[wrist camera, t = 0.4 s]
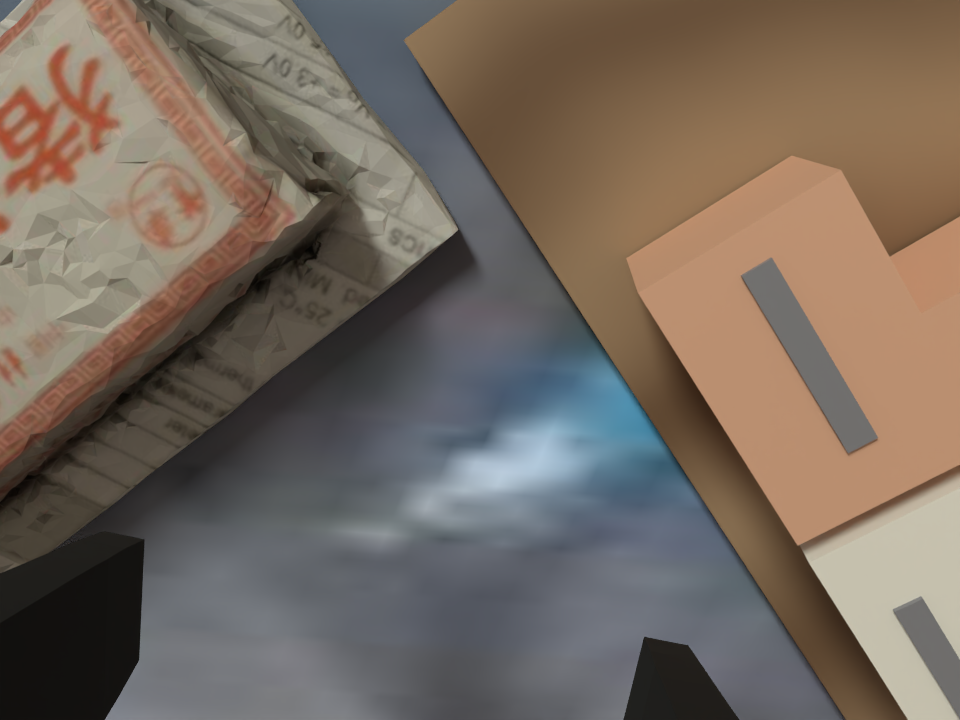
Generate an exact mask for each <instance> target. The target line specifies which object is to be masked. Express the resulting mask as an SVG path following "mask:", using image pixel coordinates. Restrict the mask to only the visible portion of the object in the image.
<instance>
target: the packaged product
mask: <svg viewBox="0 0 960 720" xmlns="http://www.w3.org/2000/svg"><path fill="white" fill-rule="evenodd" d="M457 230H458V228H457V225H456V222H455V221H454V219H453V217H452V216H451V214H450V212H449V211H448V209H447V207H446V206H445V204H444V202H443V201H442V199H441V198H440V196H439V194H438V193H437V191H436V190H435V188H434V186H433V185H432V183H431V182H430V180H429V178H428V177H427V175H426V174H425V172H424V170H423V169H422V168H421V167H420V166H419V164H418V163H417V162H416V161H415V160H414V158H413V157H412V156H411V155H410V154H409V152H408V151H407V150H406V149H405V148H404V146H403V145H402V144H401V143H400V142H399V140H398V139H397V138H396V137H395V136H394V134H393V133H392V132H391V131H390V130H389V128H388V127H387V126H386V125H385V124H384V122H383V121H382V120H381V119H380V118H379V116H378V115H377V114H376V113H375V112H374V110H373V109H372V108H371V107H370V106H369V105H368V104H367V102H366V101H365V100H364V99H363V98H362V96H361V95H360V93H359V92H358V90H357V89H356V87H355V86H354V85H353V83H352V82H351V80H350V79H349V78H348V76H347V75H346V73H345V72H344V71H343V69H342V68H341V67H340V65H339V64H338V62H337V61H336V60H335V58H334V57H333V55H332V54H331V53H330V51H329V50H328V49H327V47H326V46H325V44H324V43H323V42H322V40H321V39H320V37H319V36H318V35H317V33H316V32H315V31H314V29H313V28H312V27H311V25H310V24H309V22H308V21H307V20H306V18H305V17H304V16H303V14H302V13H301V12H300V10H299V9H298V8H297V6H296V5H295V3H294V2H293V1H292V0H23V1H22V2H21V3H20V4H19V5H18V6H17V7H16V8H15V9H14V10H13V11H12V12H11V13H10V14H9V15H8V16H7V17H6V18H5V19H4V20H3V21H2V22H0V573H2V572H5V571H7V570H9V569H12V568H14V567H16V566H19V565H21V564H24V563H26V562H28V561H31V560H33V559H35V558H38V557H40V556H42V555H45V554H47V553H49V552H51V551H52V550H54V549H55V548H56V547H58V546H59V545H60V544H62V543H63V542H64V541H66V540H67V539H68V538H70V537H71V536H72V535H73V534H75V533H76V532H77V531H79V530H80V529H81V528H83V527H84V526H85V525H87V524H88V523H89V522H91V521H92V520H93V519H95V518H96V517H97V516H99V515H100V514H101V513H103V512H104V511H105V510H106V509H108V508H109V507H110V506H112V505H113V504H114V503H116V502H117V501H118V500H120V499H121V498H122V497H123V496H124V495H126V494H127V493H128V492H129V491H130V490H131V489H133V488H134V487H135V486H136V485H137V484H138V483H140V482H141V481H142V480H143V479H144V478H145V477H147V476H148V475H149V474H151V473H152V472H153V471H154V470H156V469H157V468H158V467H160V466H161V465H162V464H164V463H165V462H166V461H168V460H169V459H170V458H172V457H173V456H174V455H176V454H177V453H178V452H180V451H181V450H182V449H184V448H185V447H186V446H188V445H189V444H190V443H192V442H193V441H194V440H196V439H197V438H198V437H200V436H201V435H202V434H204V433H205V432H206V431H208V430H209V429H210V428H212V427H213V426H214V425H216V424H217V423H218V422H220V421H221V420H222V419H223V418H225V417H226V416H227V415H229V414H230V413H231V412H233V411H234V410H235V409H236V408H237V407H238V406H240V405H241V404H242V403H243V402H244V401H245V400H247V399H248V398H249V397H250V396H251V395H252V394H254V393H255V392H256V391H257V390H258V389H259V388H261V387H262V386H263V385H264V384H265V383H266V382H268V381H269V380H270V379H271V378H272V377H273V376H275V375H276V374H277V373H278V372H280V371H281V370H282V369H284V368H285V367H286V366H288V365H289V364H290V363H292V362H293V361H294V360H296V359H297V358H298V357H300V356H301V355H302V354H304V353H305V352H306V351H308V350H309V349H310V348H311V347H313V346H314V345H315V344H317V343H318V342H319V341H321V340H322V339H323V338H325V337H326V336H327V335H329V334H330V333H331V332H332V331H334V330H335V329H336V328H338V327H339V326H340V325H342V324H343V323H344V322H346V321H347V320H348V319H349V318H351V317H352V316H353V315H355V314H356V313H357V312H359V311H360V310H361V309H363V308H364V307H365V306H367V305H368V304H369V303H370V302H372V301H373V300H374V299H376V298H377V297H378V296H380V295H381V294H382V293H384V292H385V291H386V290H387V289H389V288H390V287H391V286H393V285H394V284H395V283H397V282H398V281H399V280H401V279H402V278H403V277H405V276H406V275H407V274H408V273H409V272H410V271H412V270H413V269H414V268H415V267H416V266H417V265H418V264H420V263H421V262H422V261H423V260H424V259H425V258H427V257H428V256H429V255H430V254H431V253H432V252H434V251H435V250H436V249H437V248H438V247H439V246H440V245H442V244H443V243H444V242H445V241H446V240H447V239H449V238H450V237H451V236H452V235H453V234H454V233H455V232H456V231H457Z"/></svg>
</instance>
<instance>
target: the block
mask: <svg viewBox="0 0 960 720" xmlns="http://www.w3.org/2000/svg"><path fill="white" fill-rule="evenodd" d="M626 259H627V262H628V265H629V268H630V271H631V274H632V277H633V280H634V283H635V286H636V289H637V292H638V294H639V296H640V297H641V299H642V300H643V302H644V304H645V305H646V307H647V308H648V310H649V311H650V313H651V315H652V316H653V318H654V319H655V321H656V323H657V324H658V326H659V327H660V329H661V330H662V332H663V334H664V335H665V337H666V338H667V340H668V341H669V343H670V345H671V346H672V348H673V349H674V351H675V353H676V354H677V356H678V357H679V359H680V360H681V362H682V364H683V365H684V367H685V368H686V370H687V372H688V373H689V375H690V376H691V378H692V379H693V381H694V383H695V384H696V386H697V387H698V389H699V391H700V392H701V394H702V395H703V397H704V398H705V400H706V402H707V403H708V405H709V406H710V408H711V410H712V411H713V413H714V414H715V416H716V417H717V419H718V421H719V422H720V424H721V425H722V427H723V428H724V430H725V432H726V433H727V435H728V436H729V438H730V440H731V441H732V443H733V444H734V446H735V447H736V449H737V451H738V452H739V454H740V455H741V457H742V459H743V460H744V462H745V463H746V465H747V466H748V468H749V470H750V471H751V473H752V474H753V476H754V478H755V479H756V481H757V482H758V484H759V485H760V487H761V489H762V490H763V492H764V493H765V495H766V497H767V498H768V500H769V501H770V503H771V504H772V506H773V508H774V509H775V511H776V512H777V514H778V515H779V517H780V519H781V520H782V522H783V523H784V525H785V527H786V528H787V530H788V531H789V533H790V534H791V536H792V538H793V539H794V541H795V542H796V544H797V546H798V545H800V544H802V543H804V542H806V541H808V540H810V539H812V538H814V537H816V536H818V535H820V534H822V533H824V532H826V531H828V530H830V529H832V528H834V527H836V526H838V525H840V524H842V523H844V522H846V521H848V520H850V519H852V518H854V517H856V516H858V515H860V514H862V513H864V512H866V511H868V510H870V509H872V508H874V507H876V506H878V505H880V504H882V503H884V502H886V501H888V500H890V499H892V498H894V497H896V496H898V495H900V494H902V493H904V492H906V491H908V490H910V489H912V488H914V487H916V486H918V485H920V484H922V483H924V482H926V481H928V480H930V479H932V478H934V477H936V476H938V475H940V474H942V473H944V472H946V471H948V470H950V469H952V468H954V467H956V466H958V465H960V217H958V218H956V219H955V220H953V221H951V222H949V223H948V224H946V225H944V226H942V227H941V228H939V229H937V230H935V231H934V232H932V233H930V234H928V235H927V236H925V237H923V238H921V239H920V240H918V241H916V242H914V243H913V244H911V245H909V246H907V247H906V248H904V249H902V250H901V251H899V252H897V253H895V254H894V255H892V256H890V257H889V255H888V253H887V251H886V249H885V248H884V246H883V244H882V242H881V241H880V239H879V237H878V235H877V233H876V232H875V230H874V228H873V226H872V224H871V223H870V221H869V219H868V217H867V216H866V214H865V212H864V210H863V208H862V207H861V205H860V203H859V201H858V199H857V198H856V196H855V194H854V192H853V190H852V189H851V187H850V185H849V183H848V182H847V180H846V178H845V176H844V174H843V173H842V171H841V170H840V169H836V168H833V167H829V166H826V165H822V164H819V163H816V162H812V161H809V160H805V159H802V158H798V157H795V156H790V157H789V158H787V159H785V160H784V161H782V162H780V163H779V164H777V165H776V166H774V167H772V168H771V169H769V170H768V171H766V172H764V173H763V174H761V175H760V176H758V177H756V178H755V179H753V180H751V181H750V182H748V183H747V184H745V185H743V186H742V187H740V188H739V189H737V190H735V191H734V192H732V193H731V194H729V195H727V196H726V197H724V198H722V199H721V200H719V201H718V202H716V203H714V204H713V205H711V206H710V207H708V208H706V209H705V210H703V211H702V212H700V213H698V214H697V215H695V216H693V217H692V218H690V219H689V220H687V221H685V222H684V223H682V224H681V225H679V226H677V227H676V228H674V229H673V230H671V231H669V232H668V233H666V234H664V235H663V236H661V237H660V238H658V239H656V240H655V241H653V242H652V243H650V244H648V245H647V246H645V247H644V248H642V249H640V250H639V251H637V252H635V253H634V254H632V255H631V256H629V257H627V258H626Z"/></svg>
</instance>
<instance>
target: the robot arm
mask: <svg viewBox="0 0 960 720" xmlns="http://www.w3.org/2000/svg"><path fill="white" fill-rule="evenodd" d="M143 559H144V539H140V538H135V537H130V536H124V535H119V534H114V533H109V532H101V533H98V534H95V535H92V536H89V537H86V538H83V539H81V540H78V541H76V542H73V543H71V544H68V545H66V546H64V547H61V548H59V549H56V550H54V551H52V552H49V553H47V554H45V555H42V556H40V557H38V558H35V559H33V560H31V561H28V562H26V563H24V564H21V565H19V566H16V567H14V568H12V569H9V570H7V571H5V572H2V573H0V720H105V718H106V717H107V715H108V713H109V712H110V710H111V708H112V707H113V705H114V703H115V702H116V700H117V698H118V697H119V695H120V693H121V691H122V690H123V688H124V686H125V684H126V683H127V681H128V679H129V677H130V675H131V674H132V672H133V670H134V668H135V666H136V665H137V663H138V661H139V649H140V627H141V604H142V582H143ZM624 720H739V719H738V717H737V716H736V715H735V713H734V712H733V710H732V709H731V707H730V706H729V705H728V703H727V702H726V700H725V699H724V697H723V696H722V694H721V693H720V691H719V690H718V689H717V687H716V686H715V684H714V683H713V681H712V680H711V678H710V677H709V675H708V674H707V672H706V671H705V669H704V668H703V666H702V665H701V663H700V662H699V661H698V659H697V658H696V656H695V655H694V653H693V652H692V650H691V649H690V648H689V646H688V645H683V644H678V643H673V642H668V641H662V640H657V639H652V638H647V637H644V640H643V644H642V648H641V652H640V656H639V660H638V664H637V668H636V672H635V676H634V680H633V684H632V688H631V692H630V696H629V700H628V704H627V708H626V712H625V716H624Z"/></svg>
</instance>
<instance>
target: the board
mask: <svg viewBox="0 0 960 720" xmlns="http://www.w3.org/2000/svg"><path fill="white" fill-rule="evenodd" d="M404 41H405V43H406V44H407V46H408V47H409V49H410V50H411V52H412V54H413V55H414V57H415V58H416V60H417V61H418V63H419V64H420V66H421V67H422V69H423V70H424V72H425V74H426V75H427V77H428V78H429V80H430V81H431V83H432V84H433V86H434V87H435V89H436V90H437V92H438V94H439V95H440V97H441V98H442V100H443V101H444V103H445V104H446V106H447V107H448V109H449V110H450V112H451V114H452V115H453V117H454V118H455V120H456V121H457V123H458V124H459V126H460V127H461V129H462V130H463V132H464V133H465V135H466V137H467V138H468V140H469V141H470V143H471V144H472V146H473V147H474V149H475V150H476V152H477V153H478V155H479V157H480V158H481V160H482V161H483V163H484V164H485V166H486V167H487V169H488V170H489V172H490V173H491V175H492V177H493V178H494V180H495V181H496V183H497V184H498V186H499V187H500V189H501V190H502V192H503V193H504V195H505V196H506V198H507V200H508V201H509V203H510V204H511V206H512V207H513V209H514V210H515V212H516V213H517V215H518V216H519V218H520V220H521V221H522V223H523V224H524V226H525V227H526V229H527V230H528V232H529V233H530V235H531V236H532V238H533V240H534V241H535V243H536V244H537V246H538V247H539V249H540V250H541V252H542V253H543V255H544V256H545V258H546V259H547V261H548V263H549V264H550V266H551V267H552V269H553V270H554V272H555V273H556V275H557V276H558V278H559V279H560V281H561V283H562V284H563V286H564V287H565V289H566V290H567V292H568V293H569V295H570V296H571V298H572V299H573V301H574V303H575V304H576V306H577V307H578V309H579V310H580V312H581V313H582V315H583V316H584V318H585V319H586V321H587V323H588V324H589V326H590V327H591V329H592V330H593V332H594V333H595V335H596V336H597V338H598V339H599V341H600V342H601V344H602V346H603V347H604V349H605V350H606V352H607V353H608V355H609V356H610V358H611V359H612V361H613V362H614V364H615V366H616V367H617V369H618V370H619V372H620V373H621V375H622V376H623V378H624V379H625V381H626V382H627V384H628V386H629V387H630V389H631V390H632V392H633V393H634V395H635V396H636V398H637V399H638V401H639V402H640V404H641V405H642V407H643V409H644V410H645V412H646V413H647V415H648V416H649V418H650V419H651V421H652V422H653V424H654V425H655V427H656V429H657V430H658V432H659V433H660V435H661V436H662V438H663V439H664V441H665V442H666V444H667V445H668V447H669V449H670V450H671V452H672V453H673V455H674V456H675V458H676V459H677V461H678V462H679V464H680V465H681V467H682V469H683V470H684V472H685V473H686V475H687V476H688V478H689V479H690V481H691V482H692V484H693V485H694V487H695V488H696V490H697V492H698V493H699V495H700V496H701V498H702V499H703V501H704V502H705V504H706V505H707V507H708V508H709V510H710V512H711V513H712V515H713V516H714V518H715V519H716V521H717V522H718V524H719V525H720V527H721V528H722V530H723V532H724V533H725V535H726V536H727V538H728V539H729V541H730V542H731V544H732V545H733V547H734V548H735V550H736V551H737V553H738V555H739V556H740V558H741V559H742V561H743V562H744V564H745V565H746V567H747V568H748V570H749V571H750V573H751V575H752V576H753V578H754V579H755V581H756V582H757V584H758V585H759V587H760V588H761V590H762V591H763V593H764V595H765V596H766V598H767V599H768V601H769V602H770V604H771V605H772V607H773V608H774V610H775V611H776V613H777V614H778V616H779V618H780V619H781V621H782V622H783V624H784V625H785V627H786V628H787V630H788V631H789V633H790V634H791V636H792V638H793V639H794V641H795V642H796V644H797V645H798V647H799V648H800V650H801V651H802V653H803V654H804V656H805V658H806V659H807V661H808V662H809V664H810V665H811V667H812V668H813V670H814V671H815V673H816V674H817V676H818V678H819V679H820V681H821V682H822V684H823V685H824V687H825V688H826V690H827V691H828V693H829V694H830V696H831V697H832V699H833V701H834V702H835V704H836V705H837V707H838V708H839V710H840V711H841V713H842V714H843V716H844V717H845V719H846V720H908V719H907V717H906V716H905V714H904V713H903V711H902V710H901V708H900V706H899V705H898V703H897V702H896V700H895V699H894V697H893V695H892V694H891V692H890V691H889V689H888V687H887V686H886V684H885V683H884V681H883V680H882V678H881V676H880V675H879V673H878V672H877V670H876V668H875V667H874V665H873V664H872V662H871V661H870V659H869V657H868V656H867V654H866V653H865V651H864V649H863V648H862V646H861V645H860V643H859V642H858V640H857V638H856V637H855V635H854V634H853V632H852V630H851V629H850V627H849V626H848V624H847V623H846V621H845V619H844V618H843V616H842V615H841V613H840V611H839V610H838V608H837V607H836V605H835V604H834V602H833V600H832V599H831V597H830V596H829V594H828V592H827V591H826V589H825V588H824V586H823V585H822V583H821V581H820V580H819V578H818V577H817V575H816V574H815V572H814V570H813V569H812V567H811V566H810V564H809V562H808V560H807V558H806V556H805V554H804V552H803V551H802V549H801V547H800V545H798V546H797V544H796V542H795V541H794V539H793V538H792V536H791V534H790V533H789V531H788V530H787V528H786V527H785V525H784V523H783V522H782V520H781V519H780V517H779V515H778V514H777V512H776V511H775V509H774V508H773V506H772V504H771V503H770V501H769V500H768V498H767V497H766V495H765V493H764V492H763V490H762V489H761V487H760V485H759V484H758V482H757V481H756V479H755V478H754V476H753V474H752V473H751V471H750V470H749V468H748V466H747V465H746V463H745V462H744V460H743V459H742V457H741V455H740V454H739V452H738V451H737V449H736V447H735V446H734V444H733V443H732V441H731V440H730V438H729V436H728V435H727V433H726V432H725V430H724V428H723V427H722V425H721V424H720V422H719V421H718V419H717V417H716V416H715V414H714V413H713V411H712V410H711V408H710V406H709V405H708V403H707V402H706V400H705V398H704V397H703V395H702V394H701V392H700V391H699V389H698V387H697V386H696V384H695V383H694V381H693V379H692V378H691V376H690V375H689V373H688V372H687V370H686V368H685V367H684V365H683V364H682V362H681V360H680V359H679V357H678V356H677V354H676V353H675V351H674V349H673V348H672V346H671V345H670V343H669V341H668V340H667V338H666V337H665V335H664V334H663V332H662V330H661V329H660V327H659V326H658V324H657V323H656V321H655V319H654V318H653V316H652V315H651V313H650V311H649V310H648V308H647V307H646V305H645V304H644V302H643V300H642V299H641V297H640V296H639V294H638V292H637V289H636V286H635V283H634V280H633V277H632V274H631V271H630V268H629V265H628V262H627V259H626V258H627V257H629V256H631V255H632V254H634V253H635V252H637V251H639V250H640V249H642V248H644V247H645V246H647V245H648V244H650V243H652V242H653V241H655V240H656V239H658V238H660V237H661V236H663V235H664V234H666V233H668V232H669V231H671V230H673V229H674V228H676V227H677V226H679V225H681V224H682V223H684V222H685V221H687V220H689V219H690V218H692V217H693V216H695V215H697V214H698V213H700V212H702V211H703V210H705V209H706V208H708V207H710V206H711V205H713V204H714V203H716V202H718V201H719V200H721V199H722V198H724V197H726V196H727V195H729V194H731V193H732V192H734V191H735V190H737V189H739V188H740V187H742V186H743V185H745V184H747V183H748V182H750V181H751V180H753V179H755V178H756V177H758V176H760V175H761V174H763V173H764V172H766V171H768V170H769V169H771V168H772V167H774V166H776V165H777V164H779V163H780V162H782V161H784V160H785V159H787V158H789V157H790V156H795V157H798V158H802V159H805V160H809V161H812V162H816V163H819V164H822V165H826V166H829V167H833V168H836V169H840V170H841V171H842V173H843V174H844V176H845V178H846V180H847V182H848V183H849V185H850V187H851V189H852V190H853V192H854V194H855V196H856V198H857V199H858V201H859V203H860V205H861V207H862V208H863V210H864V212H865V214H866V216H867V217H868V219H869V221H870V223H871V224H872V226H873V228H874V230H875V232H876V233H877V235H878V237H879V239H880V241H881V242H882V244H883V246H884V248H885V249H886V251H887V253H888V255H889V257H890V256H892V255H894V254H895V253H897V252H899V251H901V250H902V249H904V248H906V247H907V246H909V245H911V244H913V243H914V242H916V241H918V240H920V239H921V238H923V237H925V236H927V235H928V234H930V233H932V232H934V231H935V230H937V229H939V228H941V227H942V226H944V225H946V224H948V223H949V222H951V221H953V220H955V219H956V218H958V217H960V0H457V1H456V2H454V3H453V4H452V5H450V6H449V7H447V8H446V9H445V10H443V11H442V12H441V13H439V14H438V15H437V16H435V17H434V18H433V19H431V20H430V21H429V22H427V23H426V24H425V25H423V26H422V27H421V28H419V29H418V30H417V31H415V32H414V33H413V34H411V35H410V36H408V37H407V38H406V39H404Z"/></svg>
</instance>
